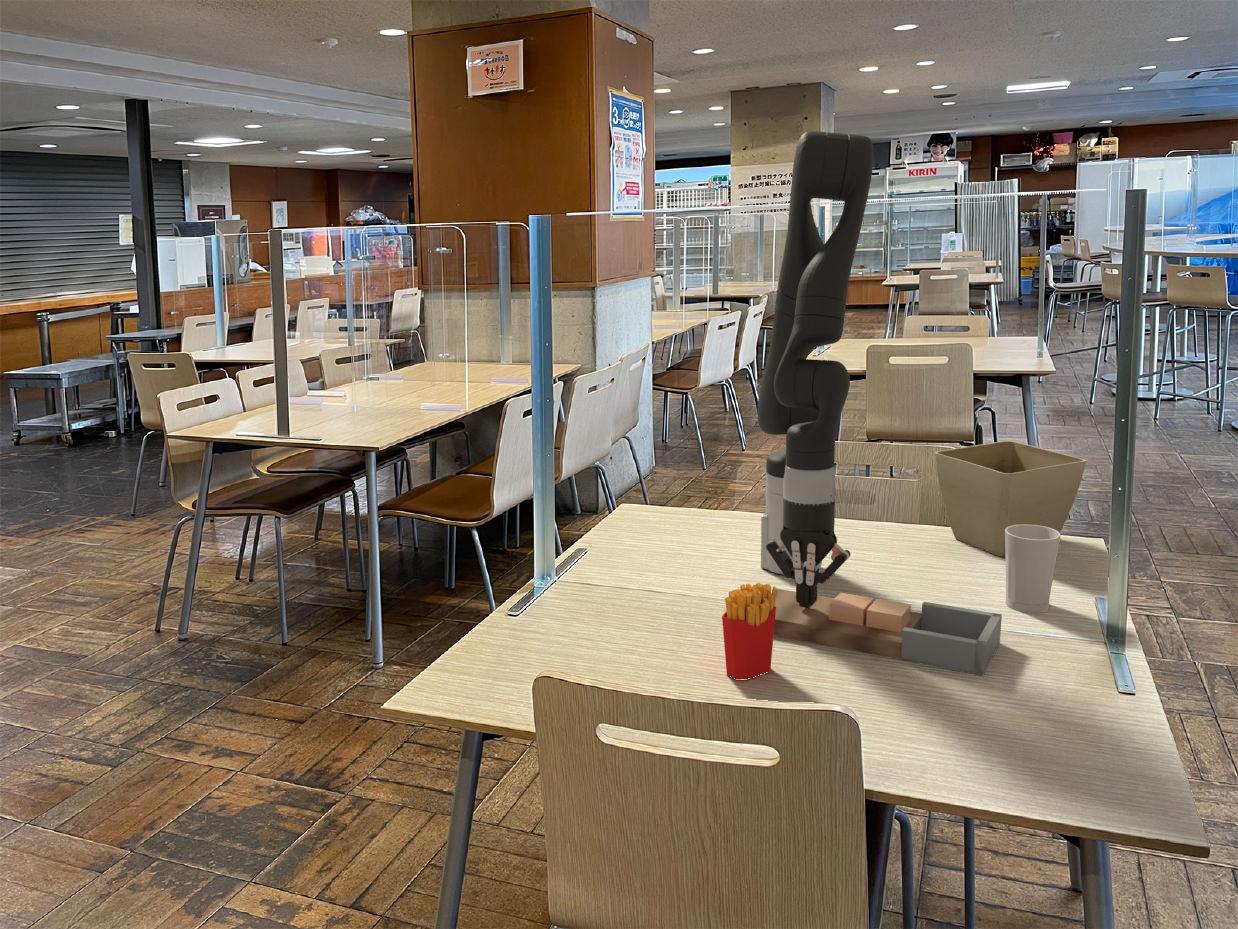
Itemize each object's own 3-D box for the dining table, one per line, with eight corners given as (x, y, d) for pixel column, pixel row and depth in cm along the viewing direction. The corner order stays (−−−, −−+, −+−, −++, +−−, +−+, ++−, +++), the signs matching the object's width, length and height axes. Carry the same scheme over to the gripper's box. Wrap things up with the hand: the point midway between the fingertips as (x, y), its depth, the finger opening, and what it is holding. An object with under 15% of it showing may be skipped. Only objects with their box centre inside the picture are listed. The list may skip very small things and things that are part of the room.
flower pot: (1000, 566, 177) (1007, 472, 173) (927, 536, 194) (931, 450, 190) (1081, 550, 184) (1089, 460, 180) (1003, 523, 201) (1009, 439, 197)
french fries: (736, 685, 135) (736, 600, 132) (716, 674, 138) (716, 591, 135) (782, 668, 139) (784, 585, 137) (763, 658, 143) (764, 577, 140)
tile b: (866, 626, 146) (866, 610, 146) (876, 614, 151) (876, 598, 150) (900, 632, 144) (901, 616, 143) (910, 620, 148) (910, 604, 148)
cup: (1059, 616, 155) (1065, 541, 152) (1004, 613, 157) (1009, 538, 154) (1048, 597, 163) (1054, 525, 160) (996, 594, 164) (1001, 523, 161)
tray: (900, 659, 141) (902, 630, 140) (922, 629, 151) (924, 601, 150) (982, 675, 136) (985, 645, 135) (999, 643, 146) (1001, 614, 145)
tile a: (829, 619, 149) (829, 603, 149) (840, 608, 153) (840, 592, 153) (862, 625, 147) (863, 609, 146) (872, 614, 151) (873, 598, 150)
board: (747, 629, 152) (747, 614, 152) (776, 603, 163) (777, 588, 162) (900, 659, 141) (901, 643, 141) (922, 629, 151) (923, 613, 151)
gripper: (757, 496, 149) (755, 606, 153) (844, 507, 143) (840, 622, 147) (776, 484, 156) (774, 590, 160) (861, 494, 149) (857, 605, 153)
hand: (806, 605), depth 153 cm, fingers closed
